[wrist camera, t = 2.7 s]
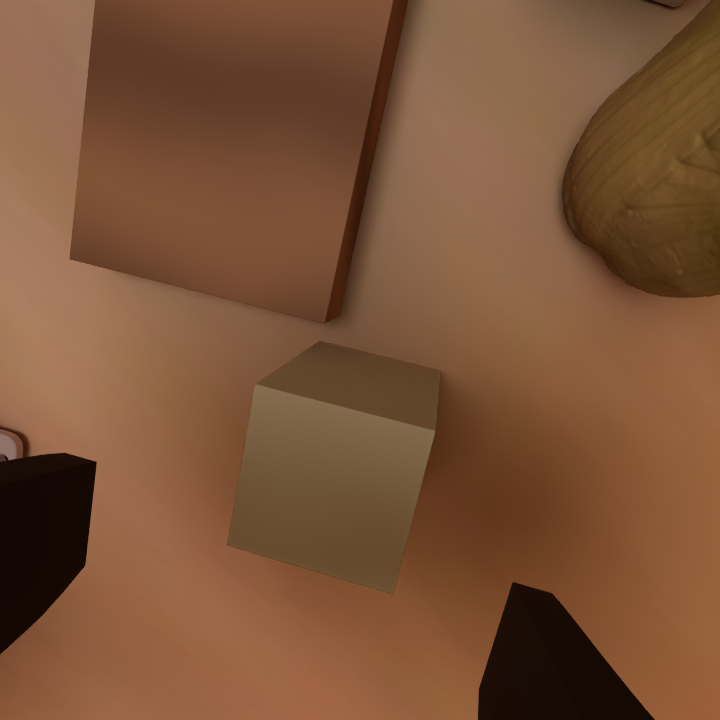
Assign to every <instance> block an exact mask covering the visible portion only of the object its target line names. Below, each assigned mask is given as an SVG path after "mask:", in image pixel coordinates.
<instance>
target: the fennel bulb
mask: <svg viewBox="0 0 720 720" xmlns="http://www.w3.org/2000/svg"><path fill="white" fill-rule="evenodd" d="M562 198H563V206H564V214H565V217H566V220H567V223H568V224H569V226H570V227H571V229H572V231H573V232H574V234H575V236H576V237H577V238H578V239H579V240H581V241H582V242H584V243H585V244H587V245H589V246H591V247H593V248H594V249H596V250H597V251H598V252H599V253H600V254H601V255H602V256H603V258H604V260H605V262H606V264H607V265H608V267H609V268H610V269H611V270H612V271H613V272H614V273H615V274H616V275H617V276H619V277H620V278H622V279H623V280H624V281H625V282H626V284H628V285H630V286H633V287H635V288H637V289H641V290H642V291H645V292H647V293H651V294H655V295H659V296H665V297H676V298H678V297H679V298H689V297H704V296H708V297H709V296H714V295H719V294H720V0H712V1H711V2H710V3H709V4H707V5H706V7H705V8H704V9H703V10H702V11H701V12H700V13H699V14H698V15H697V16H696V17H695V18H694V19H693V20H692V21H691V22H690V23H689V24H688V25H687V26H685V27H684V28H683V29H682V30H681V31H680V32H679V33H678V34H676V35H675V36H674V37H673V39H672V40H671V41H670V42H669V43H668V44H667V45H666V46H665V47H664V48H663V49H662V50H661V51H660V52H659V53H657V54H656V55H655V56H654V57H653V58H652V59H651V60H650V61H649V62H648V63H647V64H646V65H645V66H644V67H643V68H642V69H640V70H639V71H638V72H637V73H635V74H634V75H633V76H632V77H630V78H629V79H628V80H627V81H626V82H625V83H624V84H622V85H621V86H620V87H619V88H618V89H617V90H616V91H614V92H613V93H612V94H611V95H610V96H609V97H608V98H607V99H606V101H605V102H604V103H603V104H602V105H601V106H600V107H599V109H598V110H597V112H596V113H595V115H594V116H593V117H592V119H591V120H590V122H589V124H588V126H587V128H586V129H585V131H584V133H583V135H582V137H581V139H580V141H579V142H578V143H577V145H576V147H575V149H574V151H573V153H572V155H571V157H570V160H569V162H568V165H567V169H566V172H565V175H564V179H563V187H562Z"/></svg>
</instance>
